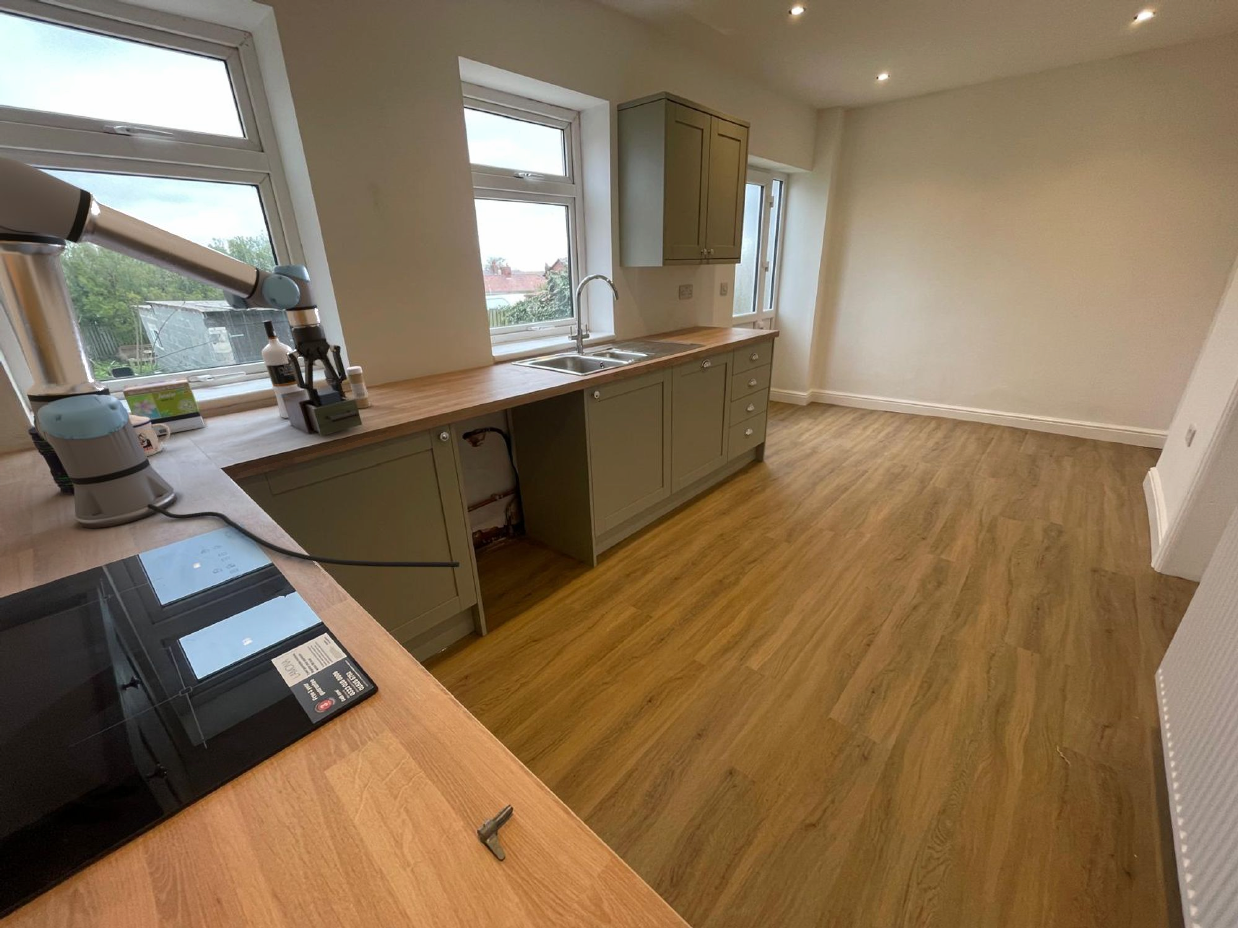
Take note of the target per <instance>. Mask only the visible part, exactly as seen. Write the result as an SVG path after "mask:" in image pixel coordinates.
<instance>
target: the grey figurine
mask: <svg viewBox="0 0 1238 928" xmlns="http://www.w3.org/2000/svg"><path fill="white" fill-rule="evenodd" d="M323 373H324V377H325V378H324V380H325V381H326V386H329V387H332V385H331V384H333V383H334V381H333V380H332V378H331V376H330V375H329V373H328V371H327V370H326V368H325V369H324V370H323ZM342 389H343V387H342ZM343 390H344V389H343Z"/></svg>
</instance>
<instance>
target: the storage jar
mask: <svg viewBox="0 0 1238 928" xmlns="http://www.w3.org/2000/svg"><path fill="white" fill-rule="evenodd" d="M27 432H28V434H29V436H31V440H32V441H33V445H34V446H35V448H36V449H37V453H39V455H40V456H42V457H43V459H44V460H45V462H46V464H47V466H48V467H49V469H50V470H49V473H50V475H51V476H52V480H53V481H54V483H55V484H56V485H57V487H58V488H59V489H60V493H61V494H62V495H67V496H70V495H74V485H73V483H72V481H71V480H70V478H69V476H68V474H67V472H66V470H65V468H64V467H63V465H62V463H61V461H60V459H59V457H58V455H57V453H56V452H55V450H54V448H53V447H52V446H51V445H50V444H49V443H48V442H47V441H45V440H44V439H43V438H42V437H41V436H40V435H39V434H38V432H37V431H36V428H35V426H33V427H31V428H29V429H28V430H27Z"/></svg>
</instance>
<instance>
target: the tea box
mask: <svg viewBox="0 0 1238 928" xmlns="http://www.w3.org/2000/svg"><path fill="white" fill-rule="evenodd" d="M122 393H123V396H124V398H125V401H126V403H127V405H128V408H129V410H130V414H131V415H136V416H140V417H148V418H150V419H151V424H152V425H153V424H164V425H166V426H168V428H169V429H170V434H173V433H174V434H175V433H177V432H185V431H189V430H190V431H191V430H196V429H203V428H205V423H204V420H203V417H202V414H201V411H200V408H199V405H198V402H197V401H196V398H195V395H194V392H193V390H192V388H191V385H190V383H189V380H188V378H187V377H186V376H185V377H177V378H171V379H163V380H162V379H161V380H154V381H149V382H141V383H135V384H134V383H133V384H127V385H126V384H125V385H123V390H122ZM153 429H154V431H155V433H156V435H157V436H163V435H167V431H166V429H165V428H163V427H153Z"/></svg>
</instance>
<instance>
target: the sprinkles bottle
mask: <svg viewBox="0 0 1238 928" xmlns="http://www.w3.org/2000/svg"><path fill="white" fill-rule="evenodd" d="M345 372H346V375H347V377H348V380H349V384H350V388H351V392H352V396H353V399H356V403H357V407H358V409H366V408H369V407H371V402H370V398H369V393H368V390H367V386H366V382H365V379H364V374H363V369H362V366H360V365H356V366H355V365H354V366H349V367H347V368H346V369H345Z"/></svg>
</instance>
